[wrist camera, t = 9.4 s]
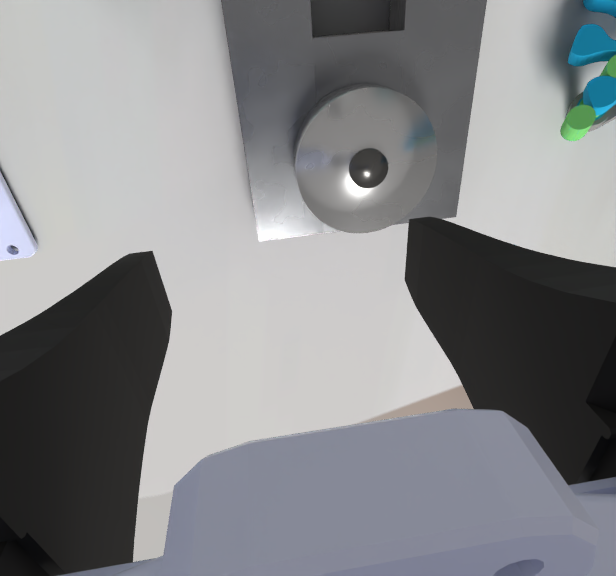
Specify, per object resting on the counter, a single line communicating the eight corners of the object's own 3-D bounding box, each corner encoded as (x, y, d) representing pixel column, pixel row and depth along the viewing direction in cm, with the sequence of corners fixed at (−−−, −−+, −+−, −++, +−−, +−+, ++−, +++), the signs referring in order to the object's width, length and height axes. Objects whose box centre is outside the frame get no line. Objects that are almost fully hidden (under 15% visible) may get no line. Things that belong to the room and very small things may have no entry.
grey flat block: (257, 224, 21) (260, 259, 18) (199, -157, 13) (184, -213, 10) (439, 202, 22) (472, 231, 19) (483, -172, 14) (551, -230, 11)
